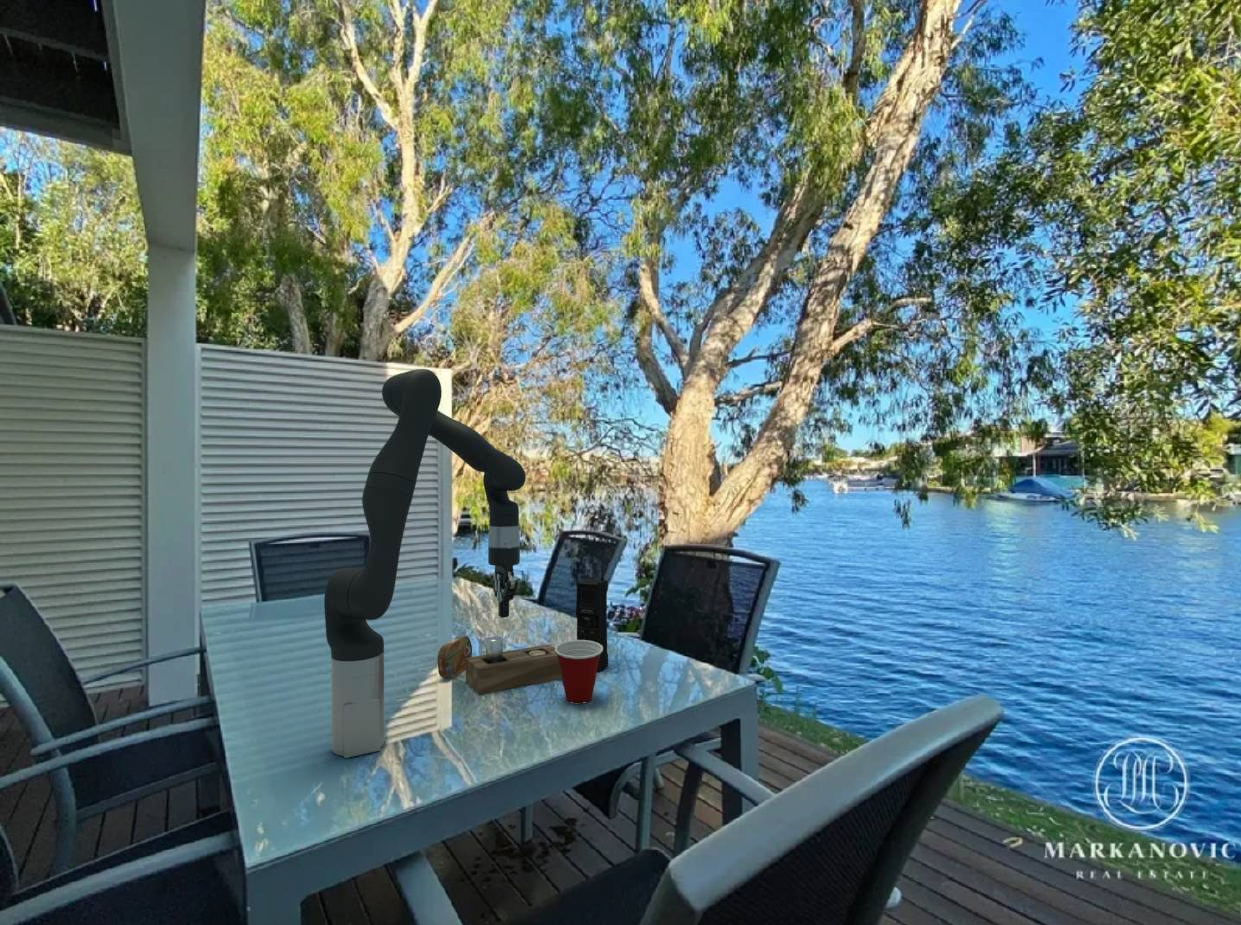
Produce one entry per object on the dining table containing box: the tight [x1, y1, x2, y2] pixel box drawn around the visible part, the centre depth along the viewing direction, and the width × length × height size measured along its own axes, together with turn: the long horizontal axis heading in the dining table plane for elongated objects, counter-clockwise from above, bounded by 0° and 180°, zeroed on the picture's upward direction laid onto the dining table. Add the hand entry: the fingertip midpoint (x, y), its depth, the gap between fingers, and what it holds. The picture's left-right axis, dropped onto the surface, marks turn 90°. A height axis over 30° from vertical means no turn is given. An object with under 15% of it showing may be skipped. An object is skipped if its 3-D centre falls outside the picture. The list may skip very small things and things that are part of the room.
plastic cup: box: [554, 639, 603, 703], centre depth 144 cm, size 11×11×12 cm
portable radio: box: [575, 570, 609, 672], centre depth 167 cm, size 8×6×25 cm
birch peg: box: [529, 650, 545, 656], centre depth 160 cm, size 4×4×6 cm
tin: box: [436, 635, 473, 680], centre depth 164 cm, size 15×3×8 cm, turn 168°
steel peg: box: [485, 636, 504, 664], centre depth 155 cm, size 4×4×6 cm
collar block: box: [465, 644, 562, 696], centre depth 157 cm, size 10×22×6 cm, turn 121°
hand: (503, 616), depth 155 cm, fingers closed
